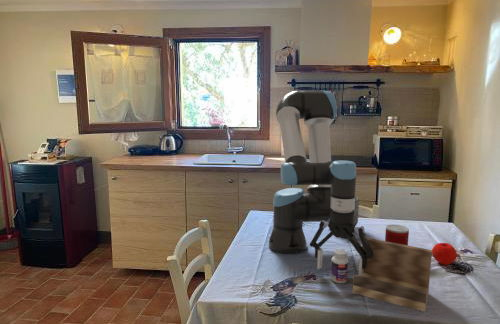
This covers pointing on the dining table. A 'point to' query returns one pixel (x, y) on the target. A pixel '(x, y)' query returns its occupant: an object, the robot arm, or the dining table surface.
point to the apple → (444, 253)
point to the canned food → (397, 234)
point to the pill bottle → (339, 266)
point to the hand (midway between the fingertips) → (339, 272)
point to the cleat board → (396, 274)
